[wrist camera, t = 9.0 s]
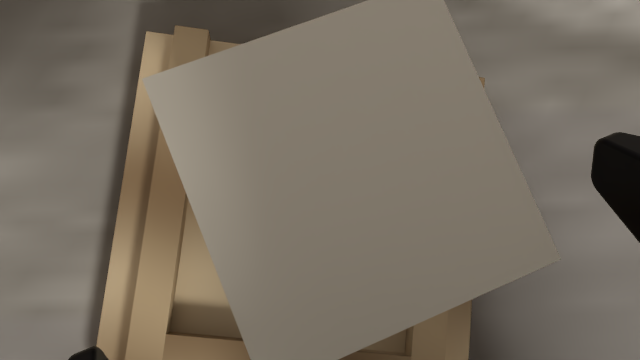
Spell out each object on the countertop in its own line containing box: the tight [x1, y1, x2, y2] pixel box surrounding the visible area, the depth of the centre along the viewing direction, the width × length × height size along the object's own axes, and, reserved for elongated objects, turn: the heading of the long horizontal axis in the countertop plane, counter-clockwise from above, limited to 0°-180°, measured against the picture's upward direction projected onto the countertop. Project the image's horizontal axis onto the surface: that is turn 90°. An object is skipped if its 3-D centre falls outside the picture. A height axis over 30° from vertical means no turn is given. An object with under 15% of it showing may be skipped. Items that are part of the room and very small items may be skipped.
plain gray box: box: [142, 0, 561, 360], centre depth 13 cm, size 4×4×10 cm
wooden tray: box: [96, 25, 485, 360], centre depth 18 cm, size 11×11×2 cm
